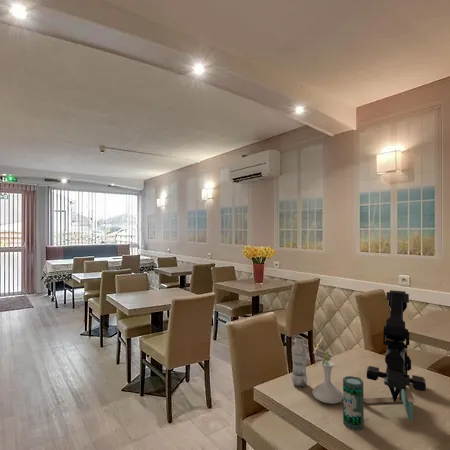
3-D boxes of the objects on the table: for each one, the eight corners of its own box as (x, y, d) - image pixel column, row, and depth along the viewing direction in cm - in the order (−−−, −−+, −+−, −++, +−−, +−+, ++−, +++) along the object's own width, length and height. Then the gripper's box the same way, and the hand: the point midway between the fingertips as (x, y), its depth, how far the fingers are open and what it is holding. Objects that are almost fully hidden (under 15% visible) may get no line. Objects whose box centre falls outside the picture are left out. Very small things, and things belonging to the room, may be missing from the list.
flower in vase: (321, 388, 132) (321, 328, 132) (348, 398, 124) (347, 334, 124) (304, 400, 123) (304, 335, 123) (332, 412, 115) (331, 343, 115)
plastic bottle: (305, 381, 138) (305, 335, 138) (308, 389, 131) (308, 340, 131) (290, 380, 139) (290, 334, 139) (292, 388, 132) (292, 340, 132)
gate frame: (402, 398, 124) (402, 375, 124) (408, 402, 121) (408, 379, 121) (355, 400, 123) (354, 377, 123) (359, 404, 120) (358, 381, 120)
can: (340, 423, 108) (340, 379, 108) (350, 417, 112) (349, 374, 112) (356, 432, 103) (356, 386, 104) (366, 425, 107) (366, 381, 107)
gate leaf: (400, 398, 121) (400, 379, 121) (405, 399, 121) (405, 379, 121) (408, 420, 108) (408, 398, 108) (414, 421, 107) (414, 399, 107)
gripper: (365, 361, 113) (364, 404, 113) (427, 374, 104) (426, 421, 104) (368, 350, 122) (367, 390, 123) (425, 361, 113) (424, 404, 114)
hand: (394, 401), depth 115 cm, fingers closed
